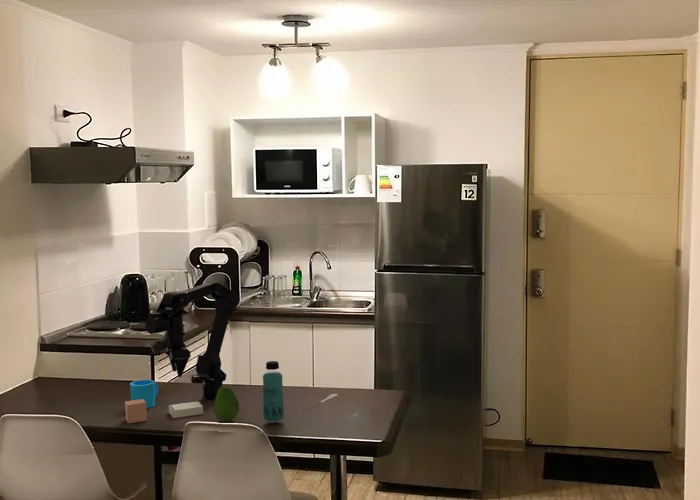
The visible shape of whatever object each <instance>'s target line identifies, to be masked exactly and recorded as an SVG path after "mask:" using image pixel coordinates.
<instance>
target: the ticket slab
mask: <svg viewBox="0 0 700 500" xmlns="http://www.w3.org/2000/svg"><path fill="white" fill-rule="evenodd" d="M168 413H169V415H170V416H171V417H172V418H173V419H177V418H183V417H189V416H197V415H203V414H204V406H203V405H202V404H201V402H199V401H192V402H191V401H190V402H184V403H182V402H181V403H177V404H176V403H175V404H169V405H168Z"/></svg>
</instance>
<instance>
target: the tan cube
mask: <svg viewBox="0 0 700 500" xmlns="http://www.w3.org/2000/svg"><path fill="white" fill-rule="evenodd" d="M124 407H125V420H126V422H127V424H131V423H132V424H133V423H134V424H135V423H140V422H146V421H148V417H147V408H146V402H145V400H144V399H140V400H132V401H131V400H127V401H124Z"/></svg>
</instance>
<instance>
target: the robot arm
mask: <svg viewBox="0 0 700 500" xmlns="http://www.w3.org/2000/svg"><path fill="white" fill-rule="evenodd" d="M207 296H210V298H212V300H214V309H215V317H214V319H213V320H214V321H213V324H212V327H211V330H210V331H211V332H210V335H209V338H208V341H207V346H206V350H205V352H204V353H202V354H198V356H197V360H196V364H195V366H194V367H195V372H196V374H197V376H198V378H199V380H200V381H202V383H203V384H202V385H201V395H202V398H204V399H205V400H206V401H212V400H215V399H216V396H217V392H218V390H219V388H220V387H221V386H223V382H224V381H226V380H227V374H226V373H225V371H223V369H222V360H221V356H220V355H221V354H220V353H221V350H222V346H223V342H224V339H225V335H226V331H227V329H228V328H227V327H228V324H229V320H230V317H231V316H232V315H233V313H234V312H235V311H236V310H237V308H238V306H239V302H240V296H239V294H238V292H237V291H233V290H232V289H230V288H228V287H226V286H224V285H223V284H221V283H220V282H219V281H214V280H213V281H211V280H209V281H207V282H205V283H202V284H199V285H197V286H194V287H191V288H188V289H185V290H181V291H180V290H179V291H178V290H177V291H168V292H165V293H164V294H163V296H162V298H161V301H160V303H159V305H158V306H157V309H156V311H155V313H153V312H151V313H148V317H147V318H146V320H145V324H144V326H145V327H144V328H145V331H146V332H147V333H148V334H149V335H155V334H159V333H164V336H162V337H160V338H158V339H156V340H154V341H151V342H149V346H150V349H151V350H152V352H153V354H158V353H160V352H162V351H163V353H164V354H166V355H167V356H168V359H169V364H170V366H171V369H172V372H176V374H177V377H178V378H182V376H183V374H184V371H185V369H186V367H187V364H188V362H189V360H190V358H191V351H190V350H189V349H188V348H187V347H186V343H185V336H186V332H185V331H184V329H185V328H184V316H186V315H188V314H189V313H188V311H187V310H185V308H186V307H188V306H189V305H190V303H191V302H194V301H197V300H199V299H202V298H205V297H207Z"/></svg>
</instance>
